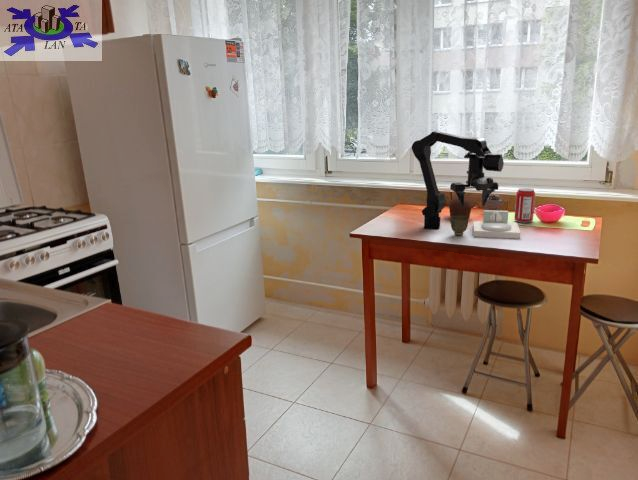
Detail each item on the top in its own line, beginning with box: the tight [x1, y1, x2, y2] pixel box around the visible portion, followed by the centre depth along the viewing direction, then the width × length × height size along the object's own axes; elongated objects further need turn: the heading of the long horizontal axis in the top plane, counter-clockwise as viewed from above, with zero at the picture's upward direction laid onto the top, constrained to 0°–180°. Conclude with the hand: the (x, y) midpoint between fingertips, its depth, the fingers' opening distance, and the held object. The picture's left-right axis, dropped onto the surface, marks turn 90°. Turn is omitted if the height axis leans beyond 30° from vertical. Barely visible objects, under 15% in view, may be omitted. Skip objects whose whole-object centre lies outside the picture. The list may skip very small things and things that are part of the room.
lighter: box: [483, 193, 503, 211], centre depth 235 cm, size 8×3×10 cm, turn 58°
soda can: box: [514, 187, 536, 224], centre depth 220 cm, size 8×8×15 cm
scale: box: [472, 209, 521, 239], centre depth 207 cm, size 18×16×8 cm
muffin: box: [447, 196, 474, 219], centre depth 232 cm, size 12×11×10 cm
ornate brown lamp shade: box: [449, 215, 470, 237], centre depth 204 cm, size 8×7×8 cm
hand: (472, 206), depth 204 cm, fingers open, 9 cm apart
